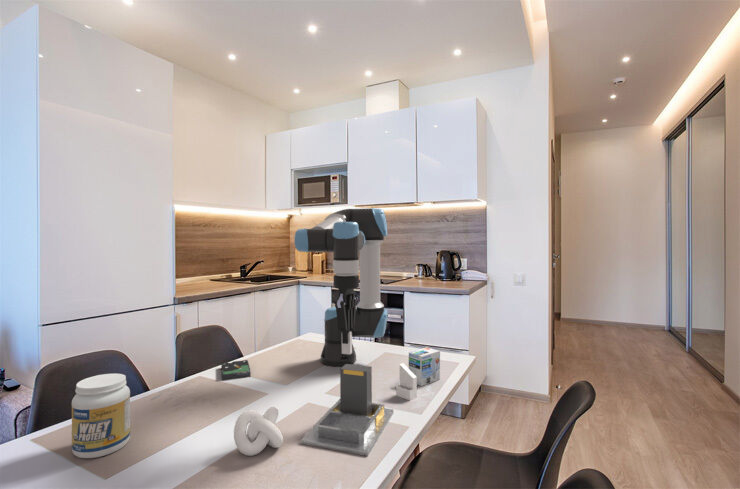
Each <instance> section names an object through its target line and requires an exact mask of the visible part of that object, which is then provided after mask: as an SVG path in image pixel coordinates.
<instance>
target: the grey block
mask: <svg viewBox="0 0 740 489" xmlns="http://www.w3.org/2000/svg"><path fill="white" fill-rule="evenodd" d="M372 368H373V367H372V365H371V366H370V365H359V364H353V363H352V364H345V365H344V366H341V368H339V370H340V372H339V373H340V374H339V377H340V379H339V380H340V382H339V383H340V386H339V387H340V389H339V390H340V391H339V392H340V396H339V397H340V398H339V399H340V412H344V413H350V414H357V415H363V416H371V415H372V403H373V402H372V401H373V400H372V399H373V391H372V390H373V389H372V388H373V386H372V384H373V382H372V381H373V380H372V379H373V378H372V377H373V376H372V372H373V370H372Z"/></svg>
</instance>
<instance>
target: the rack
mask: <svg viewBox="0 0 740 489" xmlns="http://www.w3.org/2000/svg"><path fill="white" fill-rule="evenodd" d="M394 413H395V412H394V409H393V408H392V409H391V408H385V404H382V403H376V402H372V415H371V416H363V415H357V414H350V413H344V412H340V398H339V399H338V400H337V401H335V403H334V404H333V405H332V406H331V408H329V409H328V410H327V411H326V413H324V414H323V415H322V416H321V417H320V418H319V420H317V421H316V423H314V425H313V427H312V428H311V429H310V430H309V431H307V433H306V434H305V435H304V436H303V437H302V438H301V440H300V444H301V445H306V446H313V447H317V448H322V449H328V450H335V451H339V452H344V453H348V454H349V453H350V454H355V455H360V456H366V457H369V455H370V453H371V452H372V450H373V448H374V447H375V445H376V443H377V442H378V440H379V438H380V436H381V435H382V433H383V431H384V430H385V428H386V426H387V425H388V424H389V421H390V420H391V419H392V416H393V415H394Z"/></svg>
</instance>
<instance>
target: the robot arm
mask: <svg viewBox="0 0 740 489" xmlns="http://www.w3.org/2000/svg"><path fill="white" fill-rule="evenodd" d="M387 236H388V224H387V218H386V215H385V211H384V209H382V208H373V207H371V208H370V207H369V208H346V209H341V210H338V211H335V212H332V213H330V214H328V215H327V216H326V217H325V218H324V220H323V221H322V222H320V223H318V224H316V225H315V226H313V227H312V228H299V229H297V230H296V231H295V234H294V246H295V249H296V250H297V251H298V252H301V253H302V252H303V253H332V254H333V255H332V259H333V262H332V263H331V264H332V265H331V266H333V273H334V275H333V277H332V278H333V288H335V289H338V295H337V300H335V301H334V306H330V307H329V308H326V310H325V311H324V319H323V320H324V344H323V348H322V350H321V353H320V362H321V364H323V365H325V366H330V367H343V366H344V365H345V364H352V365H353V364H355V363H356V362H357V354H356V350H355V348H354V345H353V338H372V339H374V338H375V339H376V338H383V337H384V335H385V333H386V328H387V322H388V314H389V313H388V312H389V311H388V310H387V309H385V305H384V303H383V302H382V301H381V244H383V242H384V240H385V237H387ZM358 288H359V302H358V303H357V300H358V294H355V289H358Z"/></svg>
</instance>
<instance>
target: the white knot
mask: <svg viewBox="0 0 740 489" xmlns="http://www.w3.org/2000/svg"><path fill="white" fill-rule="evenodd" d="M278 418H279V409H278V408H277V407H276V406H270V407H269V408H267V410H265V412H264V414H262V413H260V412H259V411H258V410H255V409H247V410H245V411H243V412H242V413H240V414H239V416H238V417H237V419H236V420H235V423H234V428H233V439H234V444H235V446H236V448H237V450H238V451H239V452H240V454H243V455H245V456H247V457H248V456H249V457H252V456H256V455H258V454H259V453H260V452H262V451H263V450H264V449H265V448H266V446H267V444H268V446H270V447H272V448H274V449H276V448H280V447H282V445H283V442H284V436H283V433H282V432H281V430H280V429H279V428H278V426H276V422H277V420H278Z"/></svg>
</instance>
